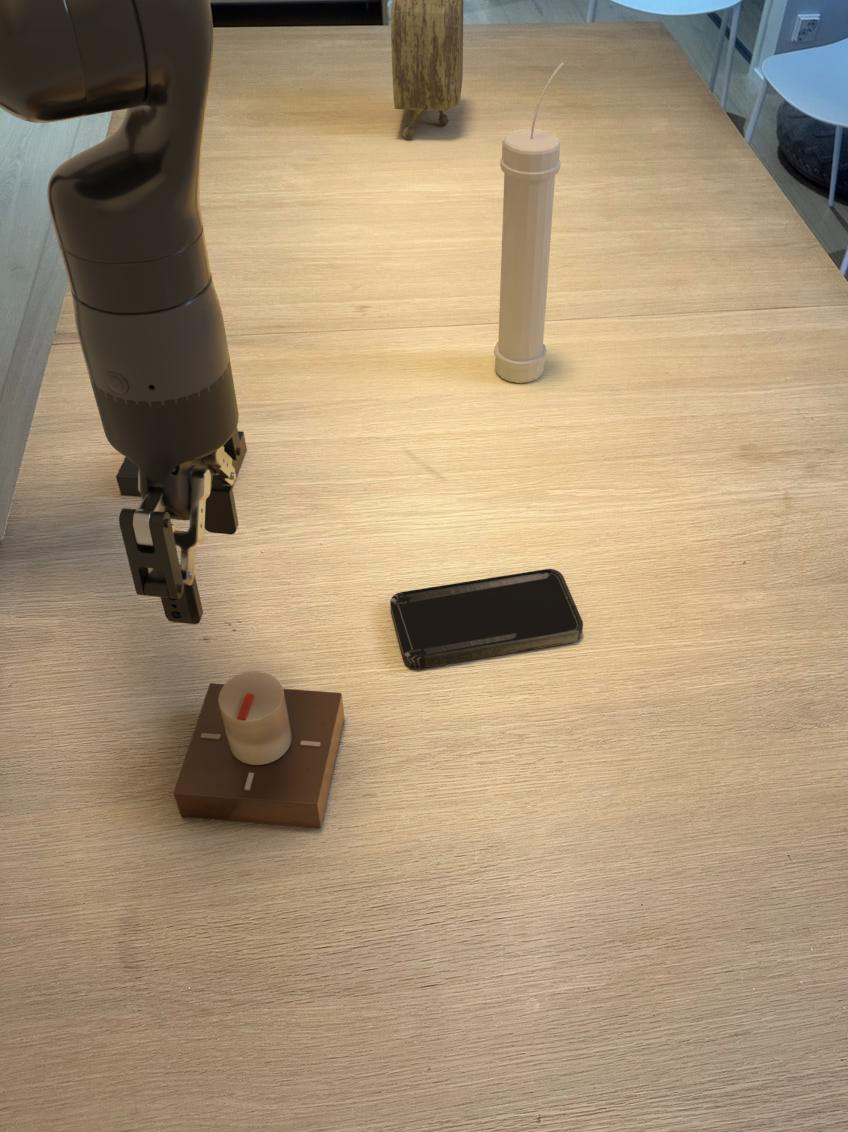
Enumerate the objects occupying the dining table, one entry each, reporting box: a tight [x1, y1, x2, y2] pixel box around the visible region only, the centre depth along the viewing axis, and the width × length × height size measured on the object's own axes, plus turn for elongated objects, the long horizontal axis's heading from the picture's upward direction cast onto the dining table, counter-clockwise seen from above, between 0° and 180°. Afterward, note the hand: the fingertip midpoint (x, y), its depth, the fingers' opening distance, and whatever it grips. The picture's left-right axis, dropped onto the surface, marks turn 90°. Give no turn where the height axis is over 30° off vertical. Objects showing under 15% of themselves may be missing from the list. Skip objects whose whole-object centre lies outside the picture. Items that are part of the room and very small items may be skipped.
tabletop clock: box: [390, 0, 464, 140], centre depth 148 cm, size 14×9×25 cm, turn 178°
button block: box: [115, 430, 248, 497], centre depth 99 cm, size 10×8×4 cm
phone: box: [389, 568, 584, 670], centre depth 87 cm, size 8×1×15 cm
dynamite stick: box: [493, 61, 565, 384], centre depth 103 cm, size 6×6×30 cm
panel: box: [172, 682, 345, 829], centre depth 77 cm, size 10×10×3 cm
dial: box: [218, 671, 292, 765], centre depth 74 cm, size 4×4×5 cm
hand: (204, 572), depth 69 cm, fingers open, 8 cm apart
